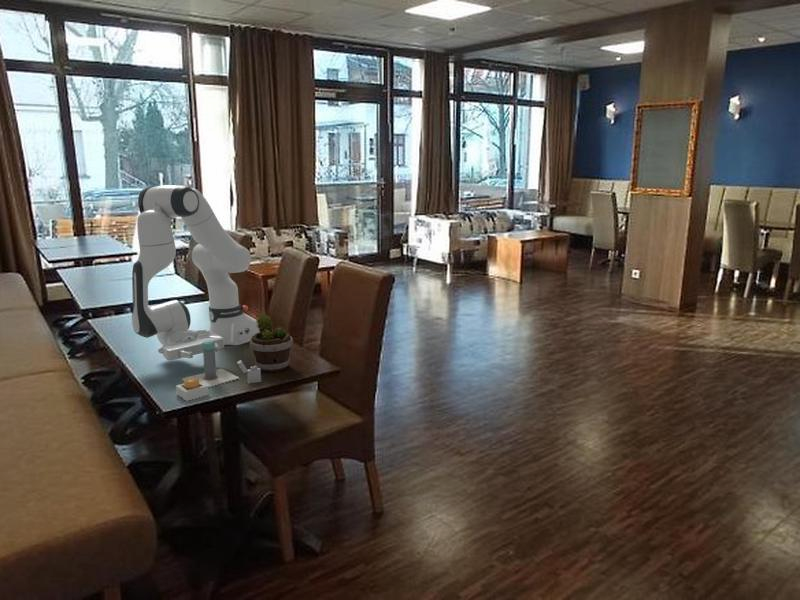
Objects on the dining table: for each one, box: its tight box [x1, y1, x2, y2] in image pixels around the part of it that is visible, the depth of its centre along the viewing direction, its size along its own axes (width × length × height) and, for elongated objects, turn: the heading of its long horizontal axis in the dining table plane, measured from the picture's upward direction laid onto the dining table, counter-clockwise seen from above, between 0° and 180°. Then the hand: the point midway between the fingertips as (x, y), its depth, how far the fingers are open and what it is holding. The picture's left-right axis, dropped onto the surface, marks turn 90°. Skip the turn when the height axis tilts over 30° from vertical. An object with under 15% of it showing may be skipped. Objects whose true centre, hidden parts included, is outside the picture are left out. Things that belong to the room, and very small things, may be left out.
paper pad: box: [181, 367, 240, 388], centre depth 191 cm, size 14×12×1 cm
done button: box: [183, 378, 200, 390], centre depth 178 cm, size 4×4×2 cm
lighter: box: [236, 359, 262, 384], centre depth 188 cm, size 7×2×8 cm, turn 120°
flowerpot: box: [249, 311, 294, 373], centre depth 201 cm, size 14×15×20 cm
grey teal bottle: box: [202, 341, 217, 380], centre depth 190 cm, size 4×4×12 cm
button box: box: [175, 381, 209, 402], centre depth 179 cm, size 7×7×3 cm
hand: (204, 352), depth 192 cm, fingers open, 8 cm apart
